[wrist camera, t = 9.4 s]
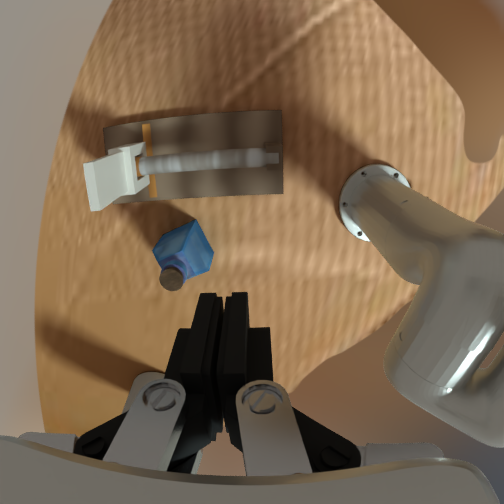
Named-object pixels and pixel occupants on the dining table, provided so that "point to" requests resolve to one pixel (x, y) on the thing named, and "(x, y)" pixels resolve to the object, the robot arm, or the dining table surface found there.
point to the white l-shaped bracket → (114, 175)
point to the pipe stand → (205, 154)
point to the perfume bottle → (182, 255)
